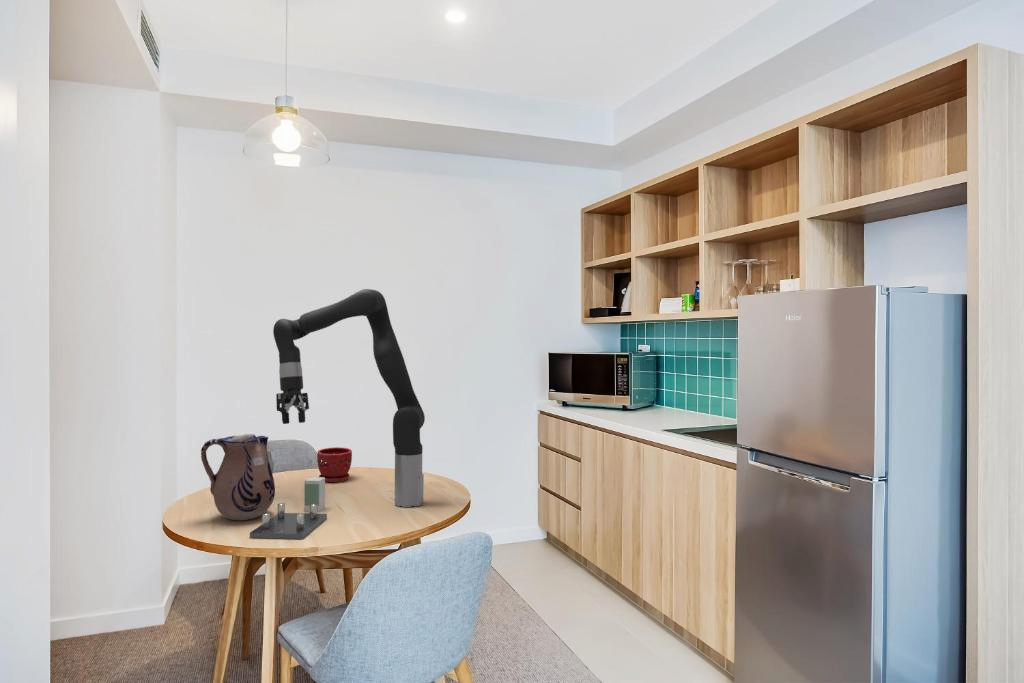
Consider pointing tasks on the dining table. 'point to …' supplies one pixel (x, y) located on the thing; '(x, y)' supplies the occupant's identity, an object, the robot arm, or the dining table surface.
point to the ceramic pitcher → (241, 477)
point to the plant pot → (334, 463)
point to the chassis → (288, 524)
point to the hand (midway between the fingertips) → (294, 423)
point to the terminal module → (314, 493)
